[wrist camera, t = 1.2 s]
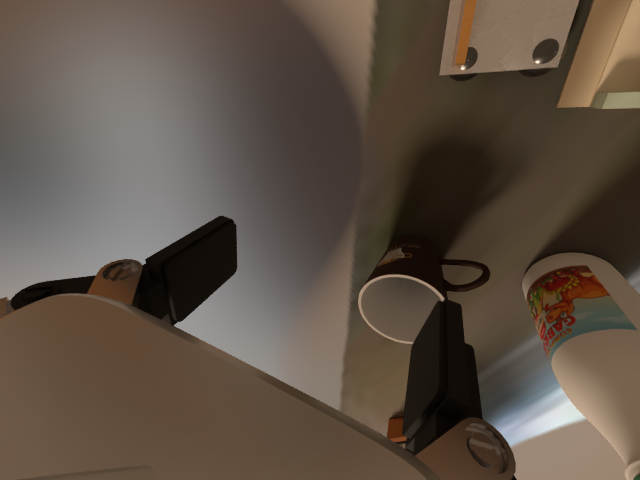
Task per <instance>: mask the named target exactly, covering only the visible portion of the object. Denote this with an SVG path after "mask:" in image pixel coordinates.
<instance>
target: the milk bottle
mask: <svg viewBox="0 0 640 480" xmlns="http://www.w3.org/2000/svg"><path fill="white" fill-rule="evenodd" d="M522 288H523V292H524V296H525V298H526V301H527V304H528V307H529V309H530V312H531V315H532V318H533V320H534V323H535V326H536V329H537V331H538V334H539V336H540V339H541V342H542V344H543V347H544V350H545V352H546V355H547V357H548V360H549V362H550V365H551V367H552V369H553V372H554V374H555V376H556V378H557V380H558V382H559V384H560V386H561V387H562V389H563V391H564V392H565V394H566V395H567V397H568V398H569V399H570V401H571V402H572V403H573V404H574V405H575V407H576V408H577V409H578V410H579V411H580V412H581V413H582V414H583V415H584V416H585V417H586V418H587V419H588V420H589V421H590V422H591V423H592V424H593V425H594V426H595V427H596V428H597V429H598V430H599V431H600V432H601V433H602V434H603V436H604V437H606V439H607V440H608V441H609V443H610V444H611V445H612V446H613V448H614V449H615V450H616V451H617V453H618V454H619V455H620V457H621V458H622V460H623V461H624V463H625V465H626V469H625V476H626V479H627V480H640V295H639V294H638V292H637V291H636V290H635V289H634V288H633V287H632V286H631V285H630V284H629V283H628V282H627V280H626V279H625V278H624V277H623V276H622V275H621V274H620V273H619V272H618V271H617V270H616V269H615V268H614V267H613V266H612V265H611V264H610V263H608V262H607V261H605V260H603V259H601V258H599V257H596V256H593V255H589V254H584V253H574V252H572V253H560V254H554V255H551V256H548V257H545V258H543V259H541V260H539V261H538V262H536V263H535V264H533V265H532V266H531V267H530V268H529V269H528V271H527V272H526V274H525V276H524V278H523V281H522Z"/></svg>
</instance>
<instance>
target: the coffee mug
mask: <svg viewBox="0 0 640 480" xmlns="http://www.w3.org/2000/svg"><path fill="white" fill-rule="evenodd" d="M441 265H461V266H471V267H475V268H477V269H480V270H482V271H483V273H482V275H481V276H480V277H479V278H478V279H477V280H475V281H473V282H471V283H468V284H464V285H453V284H450V283H449V282H448V281H446V280H444V277H443V272H442V266H441ZM489 277H490V271H489V269H488V267H487V266H486V265H484V264H482V263H479V262H474V261H469V260H451V259H450V260H448V259H442V258H440V256H439V253H438V250H437V248H436V247H435V246H434V245H433V244H432V243H431V242H430V241H428V240H427V239H425V238H422V237H419V236H412V235H410V236H403V237H400V238H398V239H396V240H395V241H393V242H392V243H391V245H390V246H389V247H388V249H387V251H386V252H385V254H384V255H383V257H382V258H381V260H380V261H379V263H378V265H377V266H376V268H375V269H374V271H373V272H372V274H371V275H370V277H369V278H368V280H367V282H366V283H365V285H364V286H363V288H362V290H361V292H360V294H359V298H358V306H359V310H360V313H361V315H362V317H363V318H364V320H365V321H366V322H367V324H368V325H369V326H370V327H371V328H373V329H374V330H375V331H376V332H378V333H379V334H381V335H383V336H385V337H386V338H389V339H391V340H394V341H397V342H402V343H408V344H413V342H414V341H415V339H416V337H417V335H418V334H419V332H420V330H421V328H422V327H423V325H424V323H425V322H426V320H427V318H428V316H429V315H430V313H431V311H432V309H433V308H434V306H435V304H436V303H437V301H438V300H440V301H442V302H443V300H444V299H448V297H447V292H446V291H454V292H466V291H469V290H472V289H475V288H477V287H480V286H481V285H483V284H484V283H486V282H487V281H488V280H489Z"/></svg>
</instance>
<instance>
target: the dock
mask: <svg viewBox="0 0 640 480" xmlns="http://www.w3.org/2000/svg"><path fill="white" fill-rule="evenodd" d="M556 107H557V108H560V107H593V108H600V109H614V108H640V0H593V1H592V4H591V7H590V9H589V12H588V15H587V18H586V21H585V24H584V27H583V30H582V33H581V36H580V39H579V41H578V44H577V47H576V50H575V53H574V56H573V59H572V62H571V65H570V68H569V71H568V73H567V76H566V79H565V82H564V85H563V88H562V91H561V94H560V97H559V100H558V103H557V105H556Z"/></svg>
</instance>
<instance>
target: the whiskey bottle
mask: <svg viewBox="0 0 640 480" xmlns="http://www.w3.org/2000/svg"><path fill="white" fill-rule="evenodd" d="M403 417H404V416H403ZM403 417H398V418H394V419H389V424H388V432H387V438H388V439H390V440H392V441H393V442H395V443H397V444H398V445H400V446H401V447H403V448H404V449H405V450H407V451H408V452H410V453H411V454H413V452H412V451H411V450H409V449H407V448H406V438H407V437H405V436H403V435H402V426H403Z"/></svg>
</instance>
